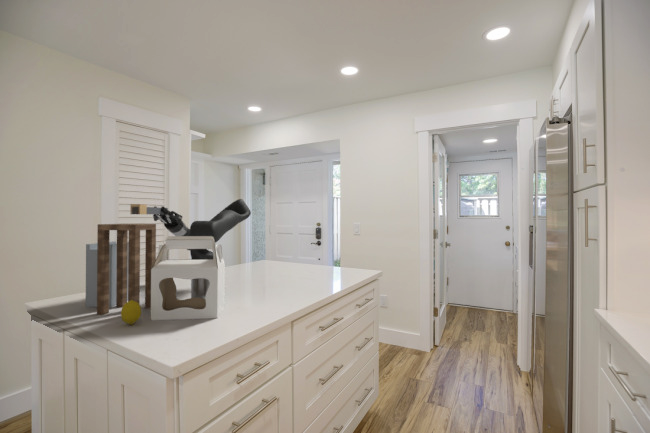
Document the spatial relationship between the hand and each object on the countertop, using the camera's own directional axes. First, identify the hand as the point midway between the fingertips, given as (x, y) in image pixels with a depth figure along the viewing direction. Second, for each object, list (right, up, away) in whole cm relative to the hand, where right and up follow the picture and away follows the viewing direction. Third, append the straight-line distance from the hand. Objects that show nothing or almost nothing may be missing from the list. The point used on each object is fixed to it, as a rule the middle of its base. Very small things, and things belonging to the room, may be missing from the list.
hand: (158, 208), depth 139 cm
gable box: (+26, -39, -26) cm, 54 cm away
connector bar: (0, -3, -5) cm, 6 cm away
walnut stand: (+1, -39, -23) cm, 45 cm away
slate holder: (-13, -38, -12) cm, 42 cm away
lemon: (+12, -39, -39) cm, 56 cm away
